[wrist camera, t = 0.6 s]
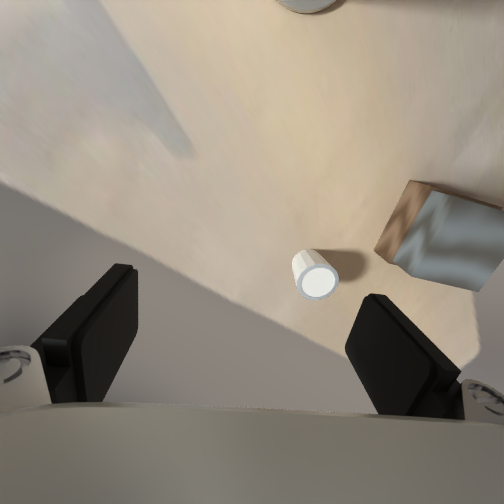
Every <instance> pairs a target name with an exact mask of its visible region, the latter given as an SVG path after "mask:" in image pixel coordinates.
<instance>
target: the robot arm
mask: <svg viewBox="0 0 504 504" xmlns="http://www.w3.org/2000/svg"><path fill="white" fill-rule="evenodd" d="M277 1H278V2H279V3H280V4H281V5H282V6H284V7H286V8H287V9H289V10H291V11H295V12H298V13H313V12H318V11H321V10H323V9H325V8H327V7H329V6H330V5H331V4H333V3H334V2H335V1H337V0H277ZM137 330H138V271H137V270H136V269H133V266H132V265H125V264H118V263H116V264H114V265H113V266H112V267H111V268H110V269H109V270H108V271H107V272H106V273H105V274H104V275H103V276H102V277H101V278H100V279H99V280H98V282H96V283H95V284H94V285H93V286H92V288H90V290H88V292H86V294H85V295H82V296H80V297H79V298H78V299H77V300H76V301H75V302H74V303H73V304H72V305H71V306H70V307H69V308H68V309H67V310H66V311H65V312H64V313H63V314H62V315H61V316H60V317H59V318H58V319H57V320H56V321H55V322H54V323H53V324H52V325H51V326H50V327H49V328H48V329H47V330H46V331H45V332H44V333H43V334H42V335H41V336H40V337H39V338H38V339H37V340H36V341H35V342H34V343H33V344H32V345H31V346H30V347H28V346H9V347H4V348H0V504H504V395H503V394H501V393H500V392H499V391H497V390H495V389H494V388H492V387H490V386H489V385H487V384H484V383H482V382H479V381H476V380H472V379H466V380H464V381H462V383H461V384H460V383H459V382H458V381H457V380H456V379H457V377H458V376H459V374H460V373H461V370H460V369H459V368H458V367H457V366H456V365H455V364H454V363H453V362H452V361H451V360H450V359H449V358H448V357H447V356H446V355H445V354H444V353H443V352H442V351H441V350H440V349H439V348H438V347H437V346H436V345H435V344H434V343H433V342H432V341H431V340H430V339H429V338H428V337H427V336H426V335H425V334H424V333H423V332H422V331H421V330H420V329H419V328H418V327H417V326H416V325H415V324H414V323H413V322H412V321H411V320H410V319H409V318H408V317H407V316H406V315H405V314H404V313H403V312H402V311H401V310H400V309H399V308H398V307H397V306H396V305H395V304H394V303H393V302H392V301H391V300H390V299H389V298H388V297H387V296H385V295H381V294H372V293H371V294H369V295H368V296H366V297H365V298H364V299H363V302H362V304H361V307H360V309H359V312H358V314H357V317H356V319H355V322H354V324H353V327H352V329H351V332H350V334H349V337H348V339H347V342H346V344H345V352H346V354H347V356H348V358H349V360H350V362H351V363H352V365H353V367H354V369H355V371H356V373H357V375H358V377H359V379H360V380H361V382H362V384H363V386H364V388H365V390H366V392H367V393H368V395H369V397H370V399H371V401H372V403H373V405H374V407H375V408H376V410H377V412H378V414H379V415H378V414H361V413H344V412H325V411H306V410H286V409H285V410H284V409H266V408H247V407H224V406H202V405H182V404H181V405H180V404H157V403H155V404H154V403H122V402H121V403H120V402H102V401H103V399H104V397H105V395H106V393H107V391H108V389H109V388H110V386H111V383H112V382H113V380H114V378H115V376H116V374H117V372H118V370H119V368H120V366H121V364H122V362H123V360H124V358H125V356H126V354H127V352H128V350H129V348H130V346H131V344H132V342H133V340H134V338H135V336H136V334H137Z"/></svg>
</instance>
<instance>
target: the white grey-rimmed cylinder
mask: <svg viewBox="0 0 504 504" xmlns="http://www.w3.org/2000/svg"><path fill="white" fill-rule="evenodd" d="M292 268H293V273H294V277H295V281H296V286H297V289H298V291H299V293H300V294H301V295H302V296H303V297H304V298H306V299H310V300H321V299H324V298H326V297H328V296H329V295H331V294H332V293H333V292H334V291H335V289H336V288H337V286H338V282H339V276H338V273H337V271H336V270H335V269H334V268H333V267H332V266H331V265H330V264H329V263H328V262H327V261H326V260H325V259H324V258H323V257H322V256H321V255H320V254H319V253H318V252H317V251H315V250H312V249H305V250H303V251H300V252H299V253H298V254H296V255H295V257H294V259H293V261H292Z"/></svg>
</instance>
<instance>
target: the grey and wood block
mask: <svg viewBox="0 0 504 504" xmlns="http://www.w3.org/2000/svg"><path fill="white" fill-rule="evenodd" d="M501 210H502V207H499V206H496V205H492V204H489V203H486V202H482V201H479V200H476V199H472V198H469V197H466V196H463V195H459V194H456V193H453V192H449V191H446V190H443V189H439V188H436V187H433V186H429V185H425V184H422V183H418V182H414V181H410V180H409V182H408V184H407V186H406V188H405V190H404V192H403V194H402V196H401V198H400V200H399V202H398V204H397V206H396V208H395V210H394V212H393V214H392V216H391V218H390V220H389V222H388V223H387V225H386V227H385V229H384V231H383V233H382V235H381V237H380V239H379V241H378V243H377V245H376V247H375V249H374V251H375V252H376V253H377V254H378V255H379V256H381V257H382V258H383V259H384V260H385V261H387V262H388V263H390V264H394V265H398V266H399V267H400V268H402V269H403V270H404V271H405V272H407V273H408V274H409V275H410V276H412V277H415V278H420V279H424V280H428V281H433V282H437V283H441V284H446V285H450V286H454V287H459V288H463V289H467V290H472V291H476V292H479V291H480V289H481V288H482V287H483V285H484V284H485V283H486V281H487V280H488V279H489V277H490V276H491V275H492V273H493V272H494V270H495V269H496V268H497V267H498V265H499V264H500V263H501V261H502V260H503V259H504V211H501Z"/></svg>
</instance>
